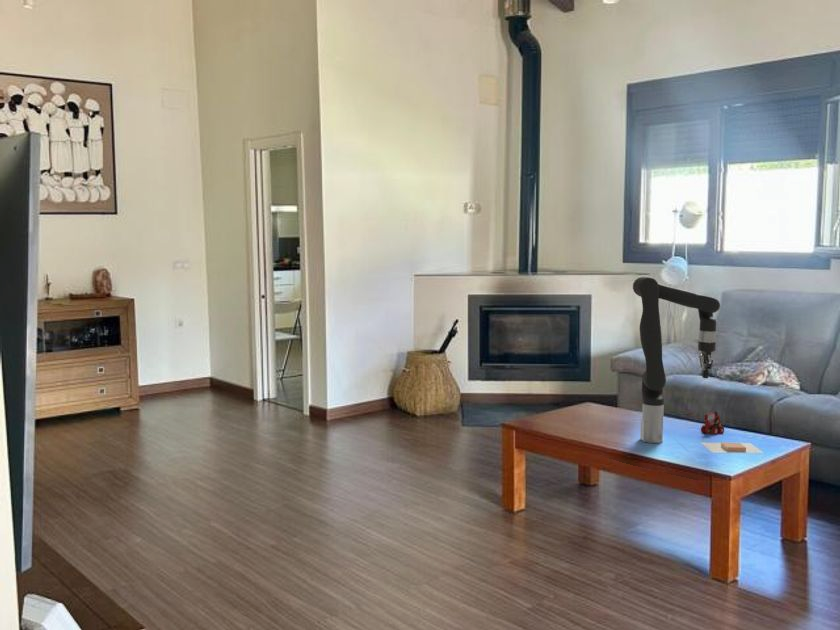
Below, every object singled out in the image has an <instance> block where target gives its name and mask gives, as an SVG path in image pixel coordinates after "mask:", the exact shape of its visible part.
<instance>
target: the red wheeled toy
mask: <svg viewBox="0 0 840 630" xmlns="http://www.w3.org/2000/svg"><path fill="white" fill-rule="evenodd" d="M721 423H722V421H721V418H720V415H719V414H718V412H717V411H713V412H709V413H706V414H704V424H702V426H701V427H700V433H702V435H706V434H707V433H708V434H711V435H723V434H724V433H725V427H724V426H723V425H722V424H721Z"/></svg>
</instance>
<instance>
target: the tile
mask: <svg viewBox="0 0 840 630" xmlns="http://www.w3.org/2000/svg"><path fill="white" fill-rule="evenodd" d="M720 443H721V447H723V448H724V449H725V450H726V451H746V447H745V446H743V445H742V444H740V443H741V442H720Z"/></svg>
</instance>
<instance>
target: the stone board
mask: <svg viewBox="0 0 840 630" xmlns="http://www.w3.org/2000/svg"><path fill="white" fill-rule="evenodd" d="M739 443H740V444H742V445H743V446H745V447H746V451H726V450H725V449H724V448H723V447H721V442H700V444H701V445H702V446H704V447H705V448H706V449H707V450H709V451H710V452H711V453H714V454H716V453H719V454H720V453H721V454H724V453H726V454H730V453H731V454H764V452H763V451H762V450H761V449H759V448H758V447H756V446H755V445H753V443H751V442H739Z"/></svg>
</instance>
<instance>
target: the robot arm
mask: <svg viewBox="0 0 840 630" xmlns="http://www.w3.org/2000/svg"><path fill="white" fill-rule="evenodd" d="M632 290H633V292H634V293H635V294H636V295H637V296H638V297H640V298H641V303H642V314H641V317H640V322H639V339H640V344H641V348H642V352H643V355H644V359H645V370H644V371H643V373H642V378H641V395H642V396H641V397H642V411H641V412H642V413H641V415H642V416H641V419H640V435H639V436H640V437H639V439H640V440H641V441H642V443H649V444H659V443H662V442H663V441H664V440H663V437H664V436H663V435H664V406H665V405H664V404H665V403H664V402H665V398H664V394H663V393H664V392H663V389H664V387H665V386H666V382H667V377H666V373H665V368H664V361H663V342H662V341H663V339H662V338H663V337H662V328H661V318H660V317H661V316H660V301H659V299H660V300H663V301H667V302H669V303H673V304H677V305H680V306H684V307H687V308H690V309H691V308H692V309H697V310H698V317H699V332H698V343H697V350H698V351H699V352H700V353H701V354H700V355H699V356H698V357H699V363H700V367H701V369H702V374H701V376H702V378H703V379H709V371H710V370H711V369H712V367H713V364H714V363H713V362H714V359H713V355H712V353H713V352H715V351H716V348H717V347H716V342H717V320H716V319H715V318H714V313H717V312H718V311H719V310H720V307H721V303H720V301H719V300H718V299H717V298H716V297H712V296H708V295H707V296H706V295H703V294H699V293H696V292H693V291H690V290H686V289H683V288H678V287H672V286H667V285H663V284H660V283H658V281H657V280H656V278H654V277H651V276H641V277H638V278H637V279H635V280H634V282H633V284H632Z"/></svg>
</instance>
